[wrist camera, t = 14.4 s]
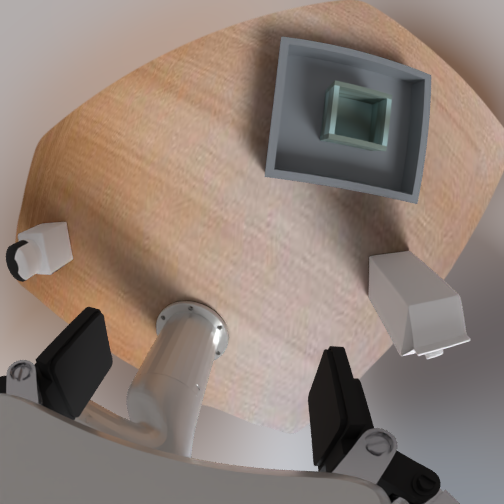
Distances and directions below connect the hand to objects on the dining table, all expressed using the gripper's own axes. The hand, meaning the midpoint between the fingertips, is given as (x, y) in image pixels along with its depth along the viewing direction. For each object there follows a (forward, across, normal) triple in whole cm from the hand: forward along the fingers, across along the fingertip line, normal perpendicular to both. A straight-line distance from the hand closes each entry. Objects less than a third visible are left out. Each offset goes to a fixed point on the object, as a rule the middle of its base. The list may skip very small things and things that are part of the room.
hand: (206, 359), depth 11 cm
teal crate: (+29, -11, -14) cm, 34 cm away
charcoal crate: (+30, -11, -14) cm, 35 cm away
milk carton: (+31, -22, +7) cm, 38 cm away
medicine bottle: (+31, +35, +9) cm, 47 cm away
